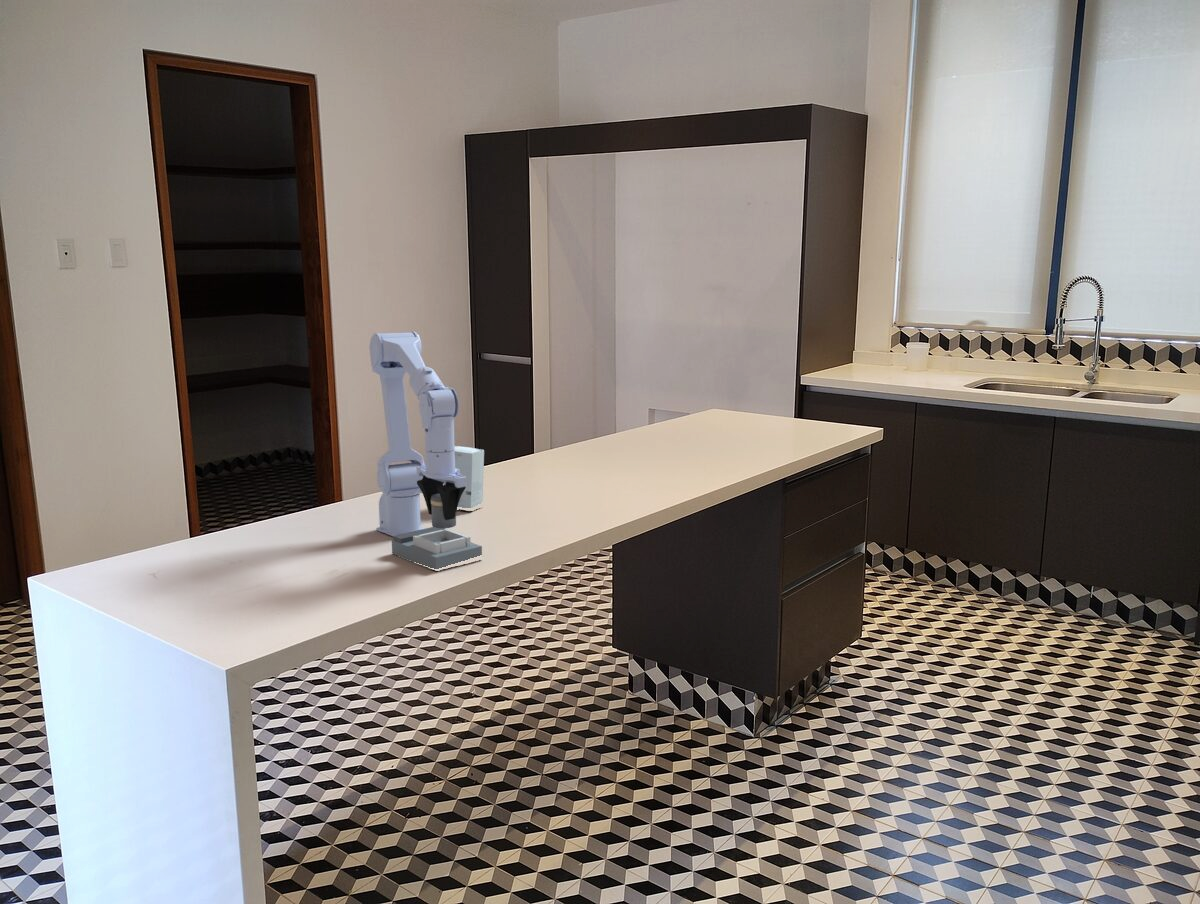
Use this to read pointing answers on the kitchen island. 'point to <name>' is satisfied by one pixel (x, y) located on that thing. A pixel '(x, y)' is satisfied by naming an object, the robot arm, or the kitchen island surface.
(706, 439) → the kitchen island surface
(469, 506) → the skincare box
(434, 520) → the lens
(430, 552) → the camera body
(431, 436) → the robot arm
